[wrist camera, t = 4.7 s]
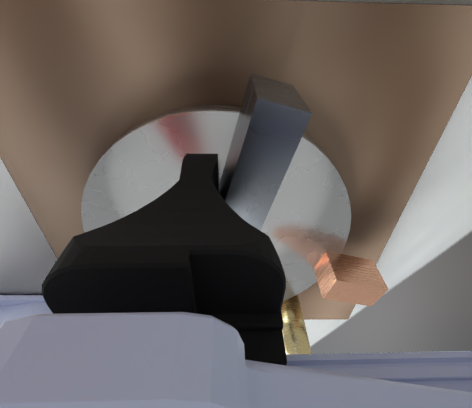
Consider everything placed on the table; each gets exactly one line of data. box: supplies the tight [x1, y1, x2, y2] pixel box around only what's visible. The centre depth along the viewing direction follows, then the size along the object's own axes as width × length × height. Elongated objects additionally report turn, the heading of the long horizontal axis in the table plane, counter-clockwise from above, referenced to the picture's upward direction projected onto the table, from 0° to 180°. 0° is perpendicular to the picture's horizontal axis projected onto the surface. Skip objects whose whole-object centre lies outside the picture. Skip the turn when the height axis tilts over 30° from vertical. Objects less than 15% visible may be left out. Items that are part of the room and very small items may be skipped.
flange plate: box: [81, 73, 388, 306], centre depth 14 cm, size 16×16×4 cm
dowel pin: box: [281, 294, 311, 354], centre depth 18 cm, size 2×2×5 cm
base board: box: [0, 0, 472, 319], centre depth 16 cm, size 21×21×2 cm
